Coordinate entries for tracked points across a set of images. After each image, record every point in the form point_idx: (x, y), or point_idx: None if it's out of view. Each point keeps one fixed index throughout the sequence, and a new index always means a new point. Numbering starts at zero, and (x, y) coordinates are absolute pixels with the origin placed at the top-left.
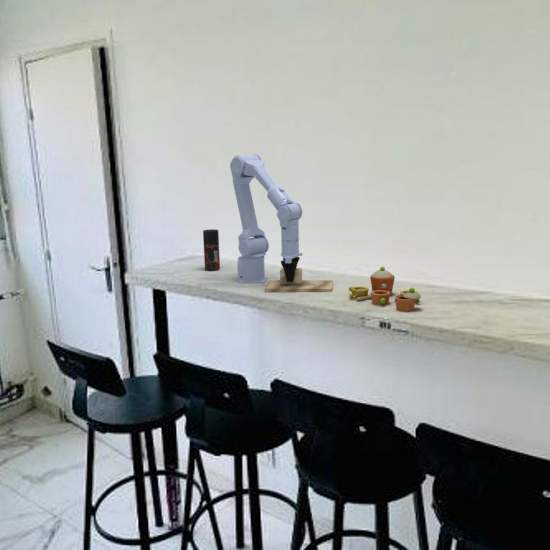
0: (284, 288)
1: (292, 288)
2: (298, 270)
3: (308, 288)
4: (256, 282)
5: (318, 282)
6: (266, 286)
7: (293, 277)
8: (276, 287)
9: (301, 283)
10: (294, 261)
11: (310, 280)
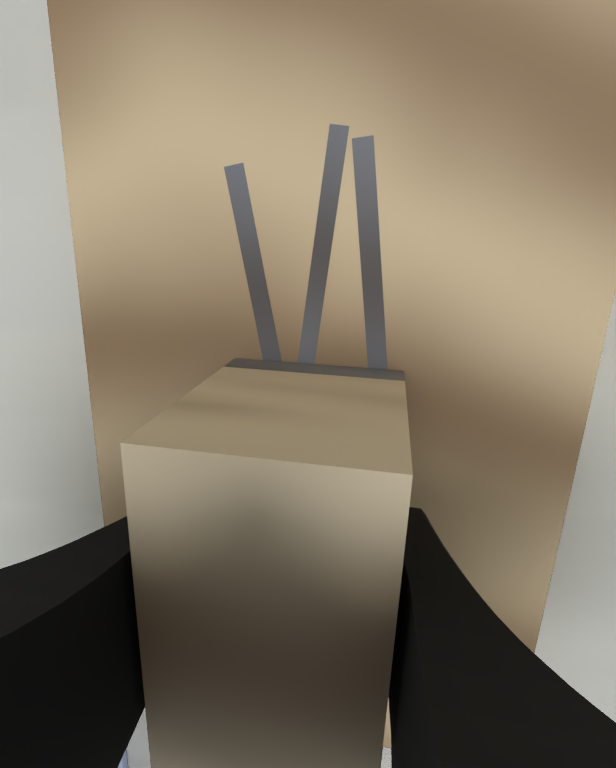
0: (545, 583)
1: (560, 488)
2: (357, 528)
3: (602, 255)
4: (123, 757)
5: (191, 101)
6: None
7: (442, 547)
8: None
9: (349, 372)
10: (8, 738)
11: (79, 241)
